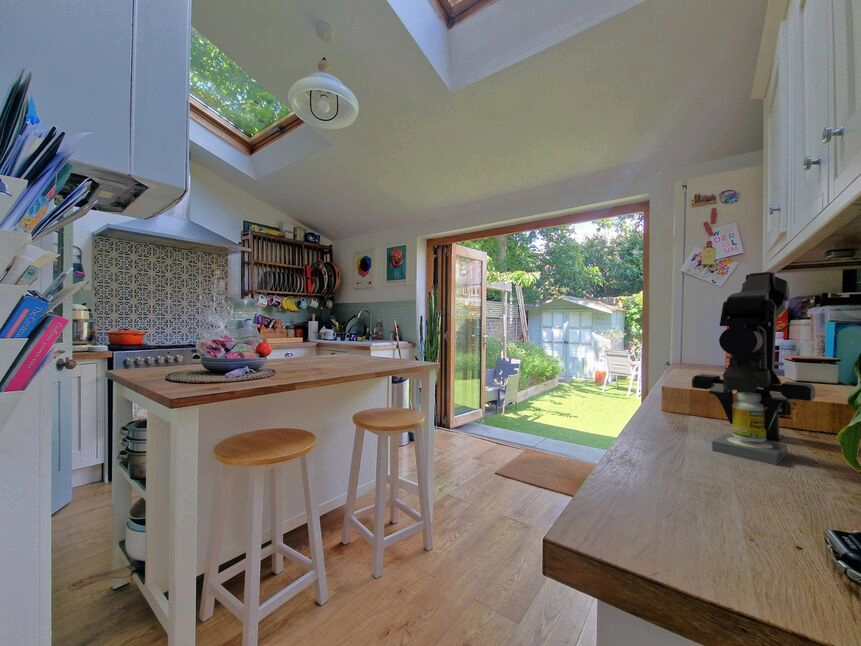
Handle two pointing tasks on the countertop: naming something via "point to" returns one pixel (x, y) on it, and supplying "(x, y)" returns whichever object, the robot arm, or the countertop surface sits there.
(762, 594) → the countertop surface
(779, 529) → the countertop surface
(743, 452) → the slate base
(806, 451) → the countertop surface
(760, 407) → the supplement bottle
